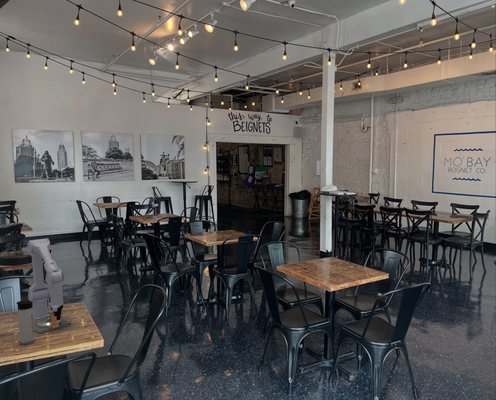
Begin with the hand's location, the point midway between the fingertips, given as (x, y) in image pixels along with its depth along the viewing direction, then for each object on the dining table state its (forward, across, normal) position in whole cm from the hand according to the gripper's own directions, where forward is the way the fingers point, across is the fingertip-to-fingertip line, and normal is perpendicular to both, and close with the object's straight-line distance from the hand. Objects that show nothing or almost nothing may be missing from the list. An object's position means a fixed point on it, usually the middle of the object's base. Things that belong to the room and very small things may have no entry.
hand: (57, 320), depth 203 cm
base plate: (+4, -4, -5) cm, 7 cm away
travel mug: (+4, +15, -11) cm, 19 cm away
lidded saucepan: (+3, -3, -4) cm, 5 cm away
